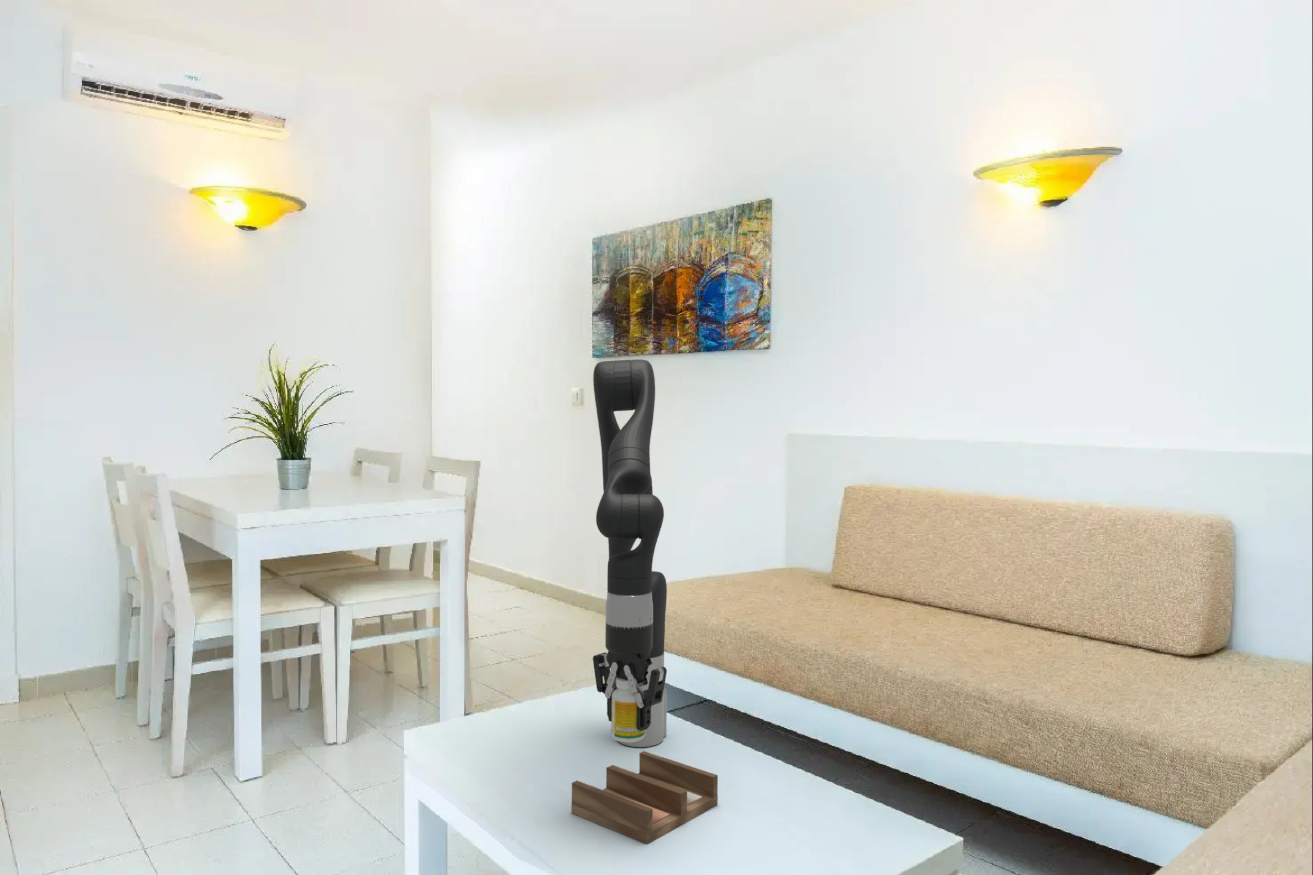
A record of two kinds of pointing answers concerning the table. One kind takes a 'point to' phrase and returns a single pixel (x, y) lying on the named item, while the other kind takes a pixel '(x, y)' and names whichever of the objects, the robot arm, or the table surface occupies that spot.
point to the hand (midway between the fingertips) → (628, 724)
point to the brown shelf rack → (647, 797)
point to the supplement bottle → (625, 713)
